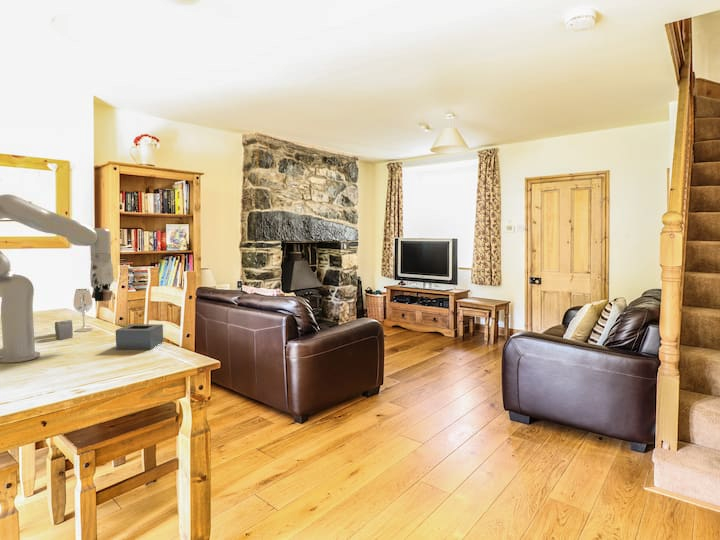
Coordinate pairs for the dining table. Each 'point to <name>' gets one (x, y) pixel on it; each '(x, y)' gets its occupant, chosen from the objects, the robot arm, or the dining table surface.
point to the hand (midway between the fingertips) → (102, 299)
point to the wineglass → (82, 305)
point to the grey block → (64, 329)
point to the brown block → (104, 294)
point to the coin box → (139, 336)
